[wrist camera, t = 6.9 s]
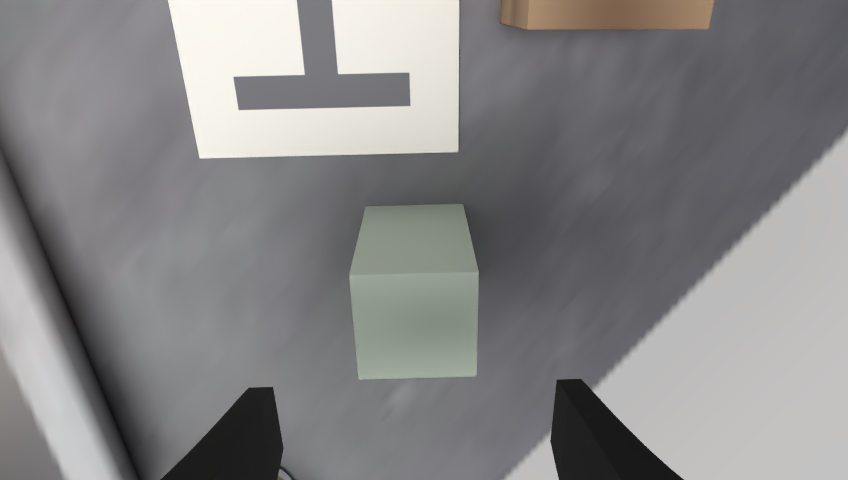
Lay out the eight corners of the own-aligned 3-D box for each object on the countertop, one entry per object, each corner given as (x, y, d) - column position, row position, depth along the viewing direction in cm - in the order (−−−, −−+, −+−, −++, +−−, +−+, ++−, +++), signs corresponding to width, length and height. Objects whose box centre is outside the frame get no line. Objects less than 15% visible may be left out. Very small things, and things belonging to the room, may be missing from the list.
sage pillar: (462, 203, 22) (478, 271, 16) (462, 288, 23) (476, 376, 18) (365, 206, 22) (349, 275, 16) (371, 291, 23) (358, 379, 18)
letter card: (459, -162, 17) (460, -164, 16) (457, 150, 21) (458, 151, 21) (141, -155, 17) (136, -157, 16) (202, 156, 21) (199, 158, 21)
